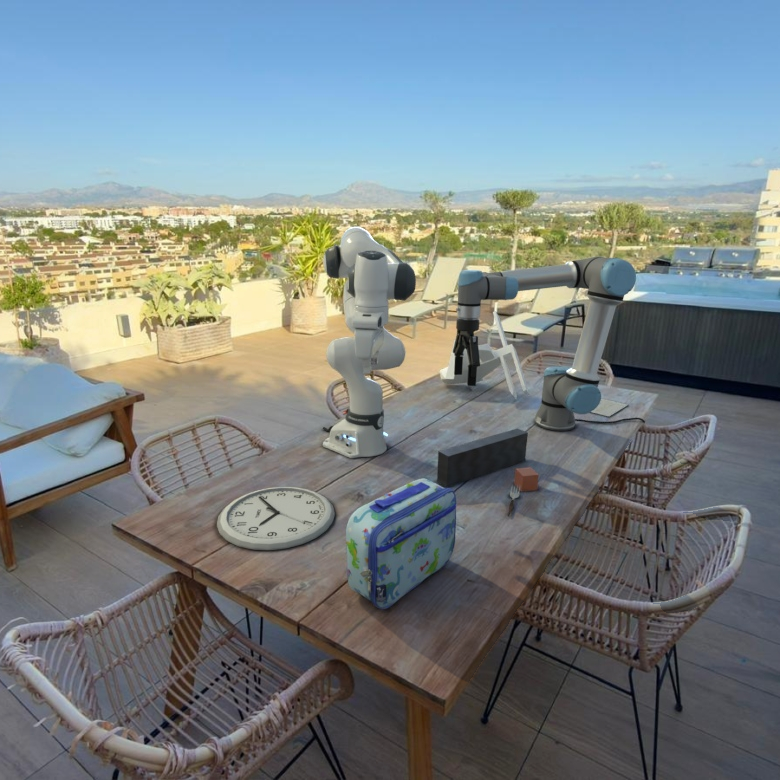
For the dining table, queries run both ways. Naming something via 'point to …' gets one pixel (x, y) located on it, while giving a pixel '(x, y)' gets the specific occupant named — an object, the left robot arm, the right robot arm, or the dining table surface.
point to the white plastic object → (487, 363)
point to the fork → (513, 495)
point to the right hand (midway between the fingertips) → (464, 379)
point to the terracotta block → (526, 479)
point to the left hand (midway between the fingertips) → (370, 368)
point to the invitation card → (608, 407)
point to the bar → (481, 457)
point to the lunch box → (400, 540)
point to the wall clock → (275, 518)
